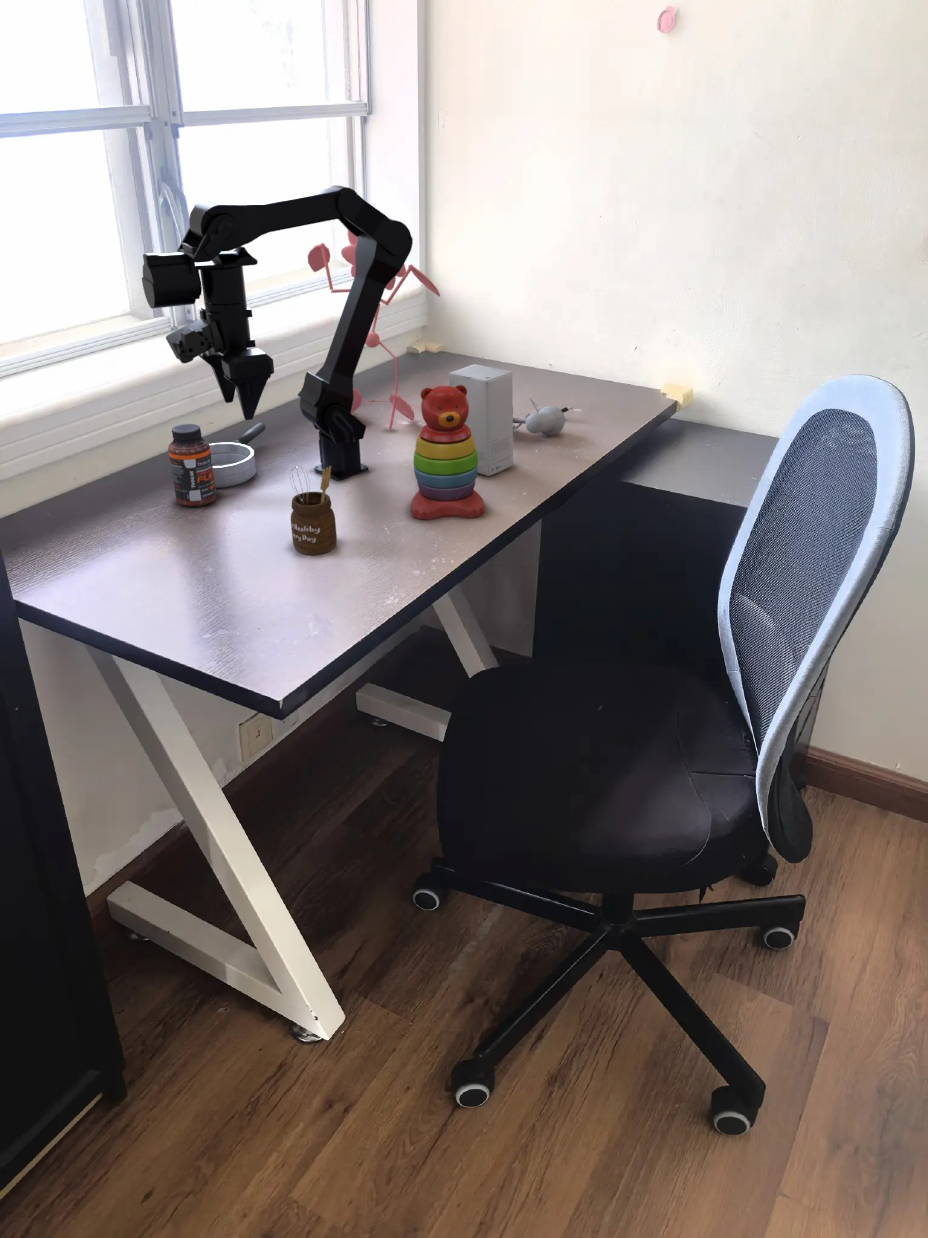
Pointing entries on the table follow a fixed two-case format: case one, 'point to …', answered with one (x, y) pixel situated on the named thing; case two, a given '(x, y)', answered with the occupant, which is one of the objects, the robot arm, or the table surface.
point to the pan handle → (248, 436)
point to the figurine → (321, 258)
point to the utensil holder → (313, 519)
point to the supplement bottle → (191, 466)
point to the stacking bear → (445, 457)
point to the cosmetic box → (489, 414)
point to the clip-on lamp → (543, 420)
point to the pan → (232, 464)
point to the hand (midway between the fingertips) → (238, 410)
